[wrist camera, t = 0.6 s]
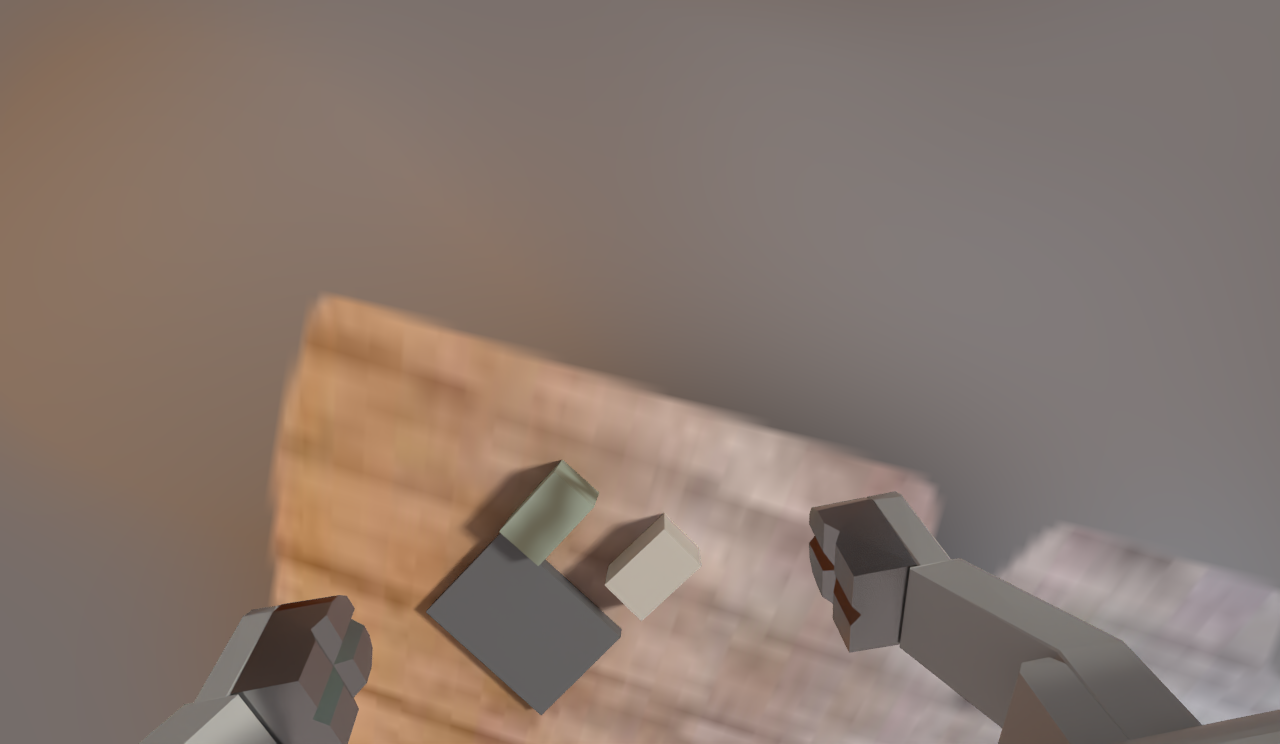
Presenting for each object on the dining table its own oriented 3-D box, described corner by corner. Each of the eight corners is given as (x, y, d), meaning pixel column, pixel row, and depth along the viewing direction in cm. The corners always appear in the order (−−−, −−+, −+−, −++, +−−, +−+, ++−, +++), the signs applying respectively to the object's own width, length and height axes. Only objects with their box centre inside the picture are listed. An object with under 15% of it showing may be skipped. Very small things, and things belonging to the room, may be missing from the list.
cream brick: (698, 546, 60) (701, 565, 55) (643, 598, 61) (641, 621, 56) (664, 512, 60) (664, 528, 55) (608, 564, 60) (604, 585, 56)
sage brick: (599, 491, 60) (594, 506, 55) (547, 547, 61) (538, 566, 56) (562, 459, 59) (554, 471, 55) (511, 515, 60) (498, 531, 56)
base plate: (621, 629, 61) (620, 637, 59) (544, 705, 62) (541, 715, 61) (507, 525, 60) (503, 530, 59) (431, 604, 62) (425, 612, 60)
